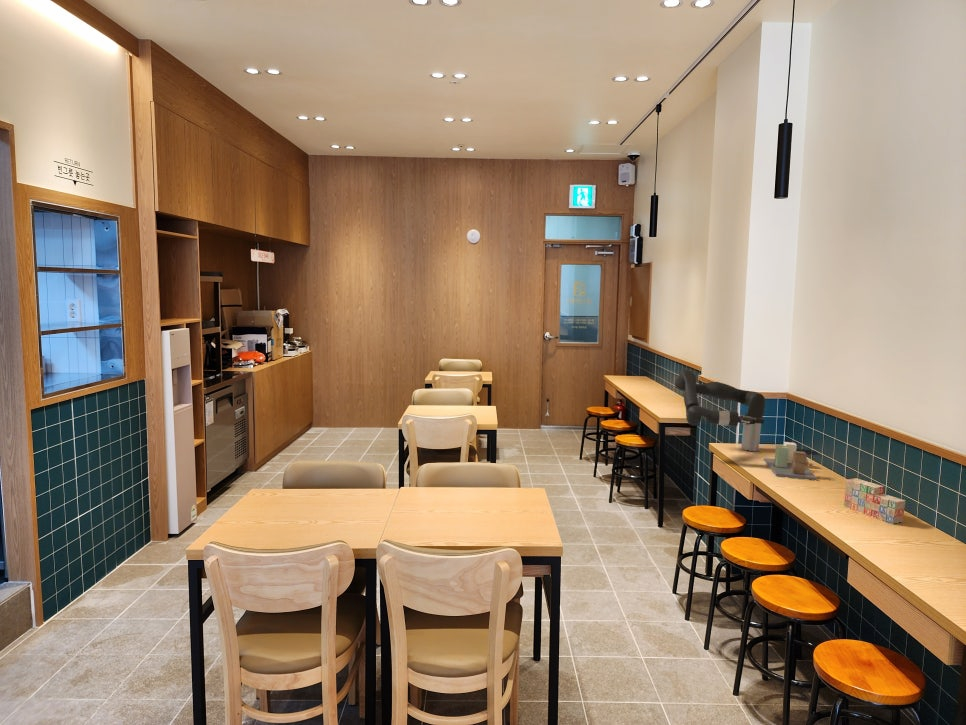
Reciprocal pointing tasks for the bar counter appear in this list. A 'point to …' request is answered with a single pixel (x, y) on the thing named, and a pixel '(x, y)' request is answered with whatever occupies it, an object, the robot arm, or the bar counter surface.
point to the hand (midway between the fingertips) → (763, 421)
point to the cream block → (790, 450)
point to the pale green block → (781, 456)
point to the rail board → (788, 471)
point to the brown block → (799, 462)
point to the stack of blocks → (873, 501)
